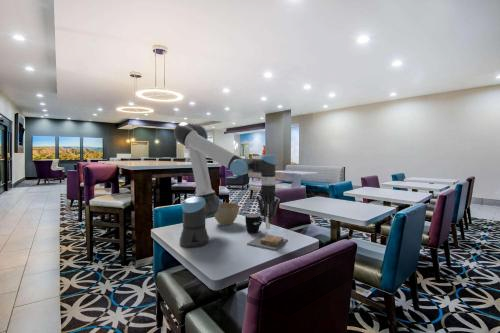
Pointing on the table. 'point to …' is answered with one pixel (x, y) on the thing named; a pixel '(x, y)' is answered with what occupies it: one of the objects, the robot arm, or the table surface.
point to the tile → (272, 240)
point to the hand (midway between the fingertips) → (267, 228)
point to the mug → (253, 222)
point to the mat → (257, 243)
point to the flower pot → (227, 213)
